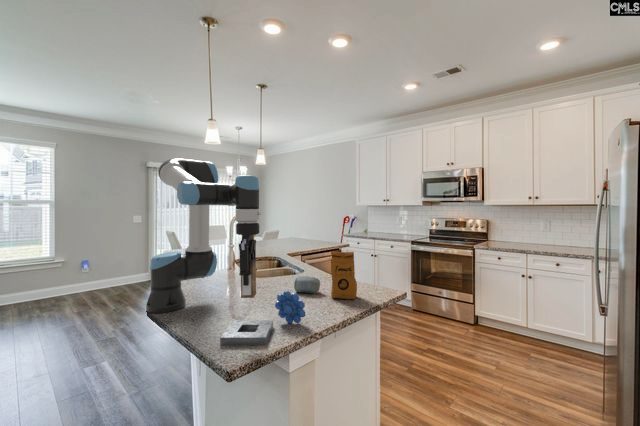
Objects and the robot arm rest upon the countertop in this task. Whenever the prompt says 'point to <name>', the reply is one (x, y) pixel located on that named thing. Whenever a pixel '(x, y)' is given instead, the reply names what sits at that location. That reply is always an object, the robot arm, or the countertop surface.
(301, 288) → the spool
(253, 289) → the wooden block
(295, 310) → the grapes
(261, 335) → the gray square hole plate
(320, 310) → the countertop surface
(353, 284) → the coffee package
